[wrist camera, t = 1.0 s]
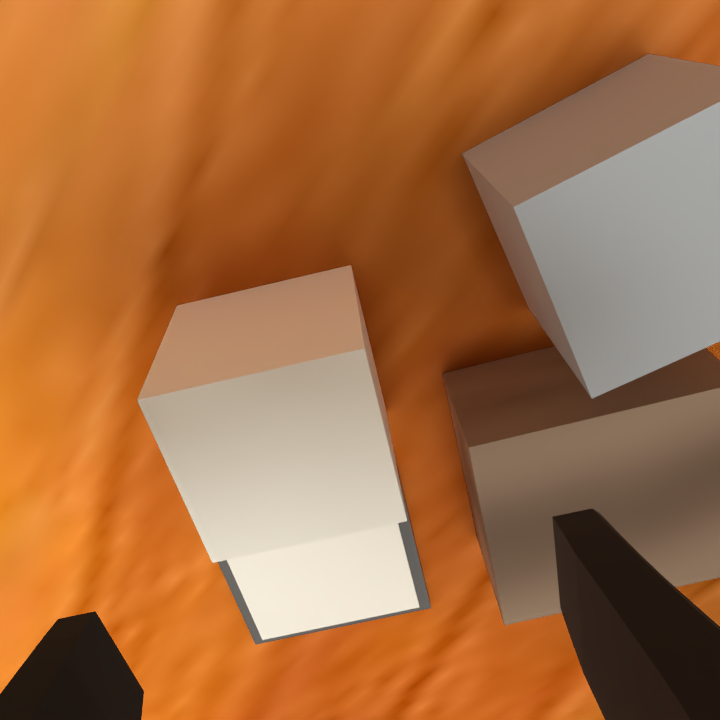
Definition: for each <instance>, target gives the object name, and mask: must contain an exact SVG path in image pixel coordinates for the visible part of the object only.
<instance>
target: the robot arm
mask: <svg viewBox="0 0 720 720" xmlns="http://www.w3.org/2000/svg"><path fill="white" fill-rule="evenodd" d="M552 519H553V530H554V542H555V553H556V564H557V576H558V587H559V598H560V608H561V611H562V614H563V616H564V619H565V622H566V625H567V628H568V631H569V634H570V637H571V639H572V642H573V645H574V648H575V651H576V653H577V656H578V659H579V662H580V665H581V667H582V670H583V673H584V675H585V677H586V679H587V682H588V684H589V686H590V688H591V690H592V692H593V694H594V697H595V699H596V701H597V703H598V705H599V707H600V709H601V711H602V714H603V716H604V718H605V720H720V627H719V626H718V625H717V624H716V623H715V622H714V621H713V620H711V619H710V618H709V617H708V616H707V615H706V614H705V613H704V612H702V611H701V610H700V609H699V608H698V607H697V606H696V605H694V604H693V603H692V602H691V601H690V600H689V599H688V598H686V597H685V596H684V595H683V594H682V593H681V592H680V591H679V590H677V589H676V588H675V587H674V586H673V585H672V584H671V583H670V582H669V581H668V580H667V579H666V578H664V577H663V576H662V575H661V574H660V573H659V572H658V571H657V570H656V569H655V568H654V567H653V566H652V565H651V564H650V563H649V562H648V561H647V560H646V559H645V558H643V557H642V556H641V555H640V554H639V553H638V552H637V551H636V550H635V549H634V548H633V547H632V546H631V545H630V544H629V543H628V542H627V541H626V540H625V539H624V538H623V537H622V536H621V535H620V534H619V533H618V532H617V531H616V530H615V528H614V527H613V526H612V525H611V524H610V523H609V522H608V521H607V520H606V519H605V518H604V517H603V516H602V515H601V514H600V513H599V512H597V511H596V510H594V509H593V508H592V509H587V510H582V511H577V512H572V513H568V514H563V515H558V516H553V517H552ZM143 694H144V691H143V689H142V688H141V686H140V684H139V683H138V681H137V679H136V678H135V676H134V674H133V673H132V671H131V669H130V668H129V666H128V664H127V663H126V661H125V660H124V658H123V656H122V655H121V653H120V651H119V650H118V648H117V646H116V645H115V643H114V641H113V640H112V638H111V636H110V635H109V633H108V631H107V630H106V628H105V627H104V625H103V623H102V622H101V620H100V618H99V617H98V615H97V613H96V612H90V613H86V614H81V615H76V616H71V617H66V618H61V619H58V620H57V621H56V622H55V624H54V625H53V626H52V627H51V629H50V630H49V631H48V632H47V634H46V635H45V636H44V637H43V639H42V640H41V641H40V643H39V644H38V645H37V646H36V648H35V649H34V650H33V652H32V653H31V654H30V656H29V657H28V658H27V660H26V661H25V662H24V663H23V665H22V666H21V667H20V669H19V670H18V671H17V673H16V674H15V675H14V677H13V678H12V679H11V681H10V682H9V683H8V685H7V686H6V687H5V689H4V690H3V691H2V693H1V694H0V720H141V716H142V705H143Z"/></svg>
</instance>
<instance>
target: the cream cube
mask: <svg viewBox="0 0 720 720" xmlns="http://www.w3.org/2000/svg"><path fill="white" fill-rule="evenodd" d="M137 401H138V403H139V405H140V408H141V410H142V412H143V414H144V416H145V418H146V420H147V423H148V425H149V427H150V429H151V431H152V433H153V436H154V438H155V440H156V442H157V444H158V446H159V448H160V451H161V453H162V455H163V457H164V459H165V461H166V464H167V466H168V468H169V470H170V472H171V474H172V477H173V479H174V481H175V483H176V485H177V487H178V489H179V492H180V494H181V496H182V498H183V500H184V502H185V505H186V507H187V509H188V511H189V513H190V515H191V517H192V520H193V522H194V524H195V526H196V528H197V530H198V533H199V535H200V537H201V539H202V541H203V543H204V546H205V548H206V550H207V552H208V554H209V556H210V558H211V561H212V563H215V562H219V561H224V560H229V559H233V558H238V557H243V556H247V555H252V554H257V553H261V552H266V551H271V550H275V549H280V548H285V547H289V546H294V545H298V544H303V543H308V542H312V541H317V540H322V539H326V538H331V537H336V536H340V535H345V534H350V533H354V532H359V531H364V530H368V529H373V528H378V527H382V526H387V525H392V524H396V523H401V522H405V521H407V517H406V512H405V507H404V501H403V496H402V491H401V486H400V480H399V475H398V470H397V464H396V459H395V454H394V449H393V443H392V438H391V433H390V427H389V422H388V417H387V412H386V407H385V403H384V399H383V395H382V391H381V387H380V383H379V378H378V374H377V370H376V366H375V362H374V358H373V354H372V349H371V345H370V341H369V337H368V333H367V329H366V325H365V320H364V316H363V312H362V308H361V304H360V300H359V296H358V291H357V287H356V283H355V279H354V275H353V271H352V267H351V265H349V266H344V267H340V268H336V269H331V270H327V271H323V272H319V273H314V274H310V275H306V276H301V277H297V278H293V279H289V280H284V281H280V282H276V283H272V284H267V285H263V286H259V287H254V288H250V289H246V290H242V291H237V292H233V293H229V294H224V295H220V296H216V297H212V298H207V299H203V300H199V301H195V302H190V303H186V304H182V305H177V306H176V309H175V311H174V314H173V316H172V318H171V321H170V323H169V325H168V328H167V330H166V333H165V335H164V337H163V340H162V342H161V345H160V347H159V349H158V352H157V354H156V356H155V359H154V361H153V364H152V366H151V368H150V371H149V373H148V375H147V378H146V380H145V383H144V385H143V387H142V390H141V392H140V395H139V397H138V399H137Z"/></svg>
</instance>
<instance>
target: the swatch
mask: <svg viewBox="0 0 720 720" xmlns="http://www.w3.org/2000/svg"><path fill="white" fill-rule="evenodd" d="M398 475H399V474H398ZM399 480H400V478H399ZM400 486H401V482H400ZM401 491H402V486H401ZM402 496H403V501H404V507H405V512H406V517H407V521H405V522H401V523H396V524H392V525H387V526H382V527H378V528H373V529H368V530H364V531H359V532H354V533H350V534H345V535H340V536H336V537H331V538H326V539H322V540H317V541H312V542H308V543H303V544H298V545H294V546H289V547H285V548H280V549H275V550H271V551H266V552H261V553H257V554H252V555H247V556H243V557H238V558H233V559H229V560H224V561H219V562H218V563H219V565H220V568H221V570H222V572H223V574H224V576H225V579H226V581H227V583H228V585H229V587H230V590H231V592H232V594H233V596H234V598H235V600H236V603H237V605H238V607H239V609H240V611H241V614H242V616H243V618H244V620H245V622H246V624H247V627H248V629H249V631H250V633H251V635H252V638H253V640H254V642H255V644H260V643H265V642H270V641H275V640H280V639H284V638H289V637H294V636H299V635H304V634H308V633H313V632H318V631H323V630H328V629H332V628H337V627H342V626H347V625H352V624H356V623H361V622H366V621H371V620H376V619H380V618H385V617H390V616H395V615H400V614H404V613H409V612H414V611H419V610H424V609H428V608H431V605H430V601H429V597H428V593H427V589H426V584H425V580H424V576H423V572H422V568H421V564H420V560H419V556H418V552H417V548H416V544H415V540H414V535H413V531H412V527H411V523H410V519H409V515H408V511H407V507H406V503H405V499H404V495H403V491H402Z"/></svg>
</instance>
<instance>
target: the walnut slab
mask: <svg viewBox="0 0 720 720" xmlns="http://www.w3.org/2000/svg"><path fill="white" fill-rule="evenodd" d="M442 375H443V379H444V384H445V389H446V394H447V398H448V403H449V408H450V412H451V417H452V422H453V426H454V431H455V436H456V441H457V445H458V450H459V455H460V459H461V464H462V469H463V474H464V478H465V483H466V488H467V492H468V497H469V502H470V507H471V511H472V516H473V521H474V525H475V530H476V535H477V539H478V542H479V545H480V548H481V552H482V555H483V558H484V561H485V564H486V568H487V571H488V574H489V577H490V580H491V584H492V587H493V590H494V593H495V596H496V600H497V603H498V606H499V609H500V612H501V616H502V619H503V622H504V625H508V624H513V623H517V622H522V621H526V620H531V619H535V618H540V617H544V616H549V615H553V614H558V613H562V611H561V608H560V598H559V587H558V576H557V564H556V553H555V542H554V530H553V519H552V517H553V516H558V515H563V514H568V513H572V512H577V511H582V510H587V509H592V508H593V509H594V510H596V511H597V512H599V513H600V514H601V515H602V516H603V517H604V518H605V519H606V520H607V521H608V522H609V523H610V524H611V525H612V526H613V527H614V528H615V530H616V531H617V532H618V533H619V534H620V535H621V536H622V537H623V538H624V539H625V540H626V541H627V542H628V543H629V544H630V545H631V546H632V547H633V548H634V549H635V550H636V551H637V552H638V553H639V554H640V555H641V556H642V557H643V558H645V559H646V560H647V561H648V562H649V563H650V564H651V565H652V566H653V567H654V568H655V569H656V570H657V571H658V572H659V573H660V574H661V575H662V576H663V577H664V578H666V579H667V580H668V581H669V582H670V583H671V584H672V585H673V586H674V587H679V586H684V585H688V584H693V583H697V582H702V581H706V580H711V579H715V578H720V360H718V359H717V358H716V357H715V356H714V355H713V354H712V353H711V352H709V351H708V350H707V349H706V348H704V349H702V350H700V351H697V352H695V353H693V354H691V355H688V356H686V357H684V358H682V359H679V360H677V361H675V362H673V363H671V364H668V365H666V366H664V367H662V368H659V369H657V370H655V371H653V372H650V373H648V374H646V375H644V376H642V377H639V378H637V379H635V380H633V381H630V382H628V383H626V384H624V385H621V386H619V387H617V388H615V389H612V390H610V391H608V392H606V393H604V394H601V395H599V396H597V397H595V398H591V397H590V395H589V394H588V392H587V391H586V390H585V388H584V387H583V385H582V384H581V382H580V381H579V380H578V378H577V377H576V375H575V374H574V372H573V371H572V370H571V368H570V367H569V365H568V364H567V362H566V361H565V360H564V358H563V357H562V355H561V354H560V352H559V351H558V350H557V348H556V347H555V346H552V347H548V348H544V349H540V350H536V351H532V352H528V353H524V354H520V355H516V356H512V357H507V358H503V359H499V360H495V361H491V362H487V363H483V364H479V365H475V366H471V367H467V368H463V369H458V370H454V371H450V372H446V373H442Z"/></svg>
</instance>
